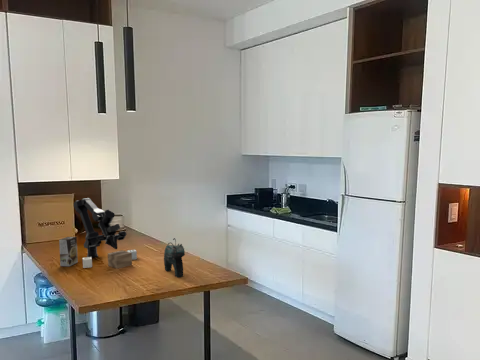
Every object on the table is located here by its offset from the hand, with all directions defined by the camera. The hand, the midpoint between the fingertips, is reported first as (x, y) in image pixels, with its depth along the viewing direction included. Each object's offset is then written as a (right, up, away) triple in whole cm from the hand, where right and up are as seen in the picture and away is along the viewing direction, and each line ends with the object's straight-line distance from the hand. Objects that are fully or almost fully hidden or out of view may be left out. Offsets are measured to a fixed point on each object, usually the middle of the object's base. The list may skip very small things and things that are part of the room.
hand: (116, 248), depth 263 cm
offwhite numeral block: (-17, -10, -2) cm, 20 cm away
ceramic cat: (+37, -11, -21) cm, 44 cm away
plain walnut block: (+2, -10, -1) cm, 10 cm away
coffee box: (-29, -10, +3) cm, 31 cm away
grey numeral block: (+5, -8, +14) cm, 17 cm away
